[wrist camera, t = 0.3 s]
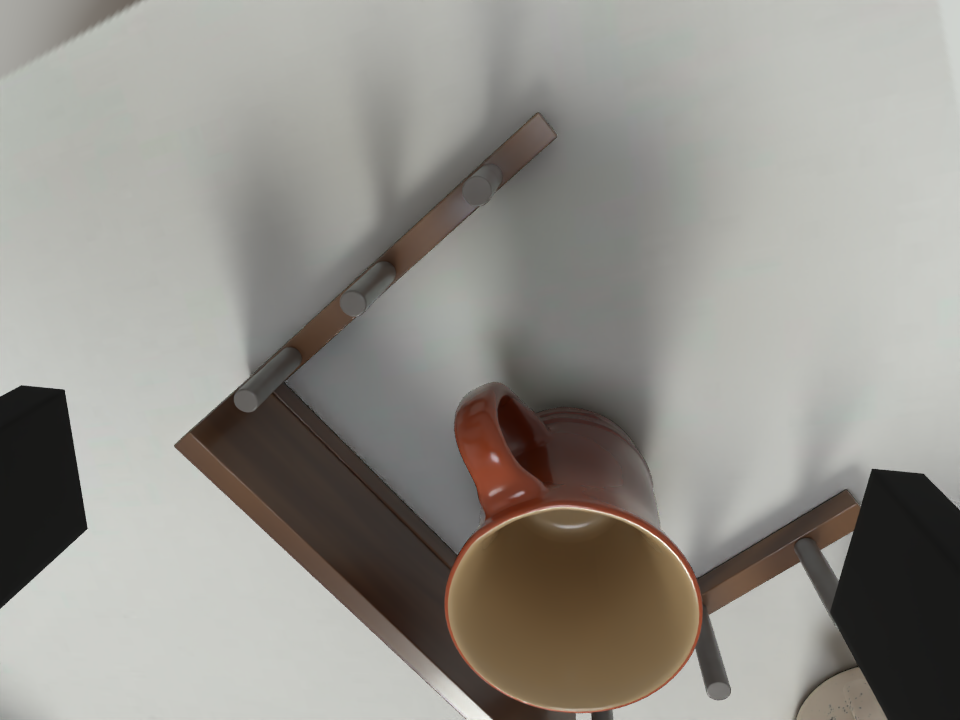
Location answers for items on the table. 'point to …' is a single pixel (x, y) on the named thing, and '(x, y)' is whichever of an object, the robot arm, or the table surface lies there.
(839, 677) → the teacup with lid
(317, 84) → the table surface
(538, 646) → the mug
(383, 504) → the dish rack
